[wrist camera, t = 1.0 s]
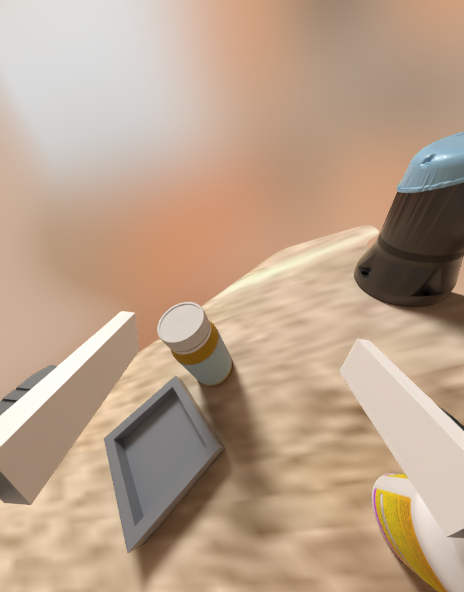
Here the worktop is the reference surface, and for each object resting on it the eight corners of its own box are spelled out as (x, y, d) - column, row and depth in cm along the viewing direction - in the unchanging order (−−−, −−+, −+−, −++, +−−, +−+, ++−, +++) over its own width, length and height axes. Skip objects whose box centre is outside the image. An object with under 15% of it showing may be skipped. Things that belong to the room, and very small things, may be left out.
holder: (182, 381, 32) (175, 375, 30) (225, 448, 24) (219, 447, 22) (117, 440, 28) (103, 438, 26) (144, 543, 20) (127, 553, 18)
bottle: (234, 348, 34) (211, 296, 24) (231, 387, 30) (201, 345, 19) (200, 349, 36) (164, 301, 25) (192, 387, 31) (144, 347, 20)
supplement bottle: (431, 605, 15) (665, 834, 6) (354, 500, 19) (418, 533, 10) (475, 542, 16) (721, 645, 7) (395, 457, 21) (482, 453, 12)
